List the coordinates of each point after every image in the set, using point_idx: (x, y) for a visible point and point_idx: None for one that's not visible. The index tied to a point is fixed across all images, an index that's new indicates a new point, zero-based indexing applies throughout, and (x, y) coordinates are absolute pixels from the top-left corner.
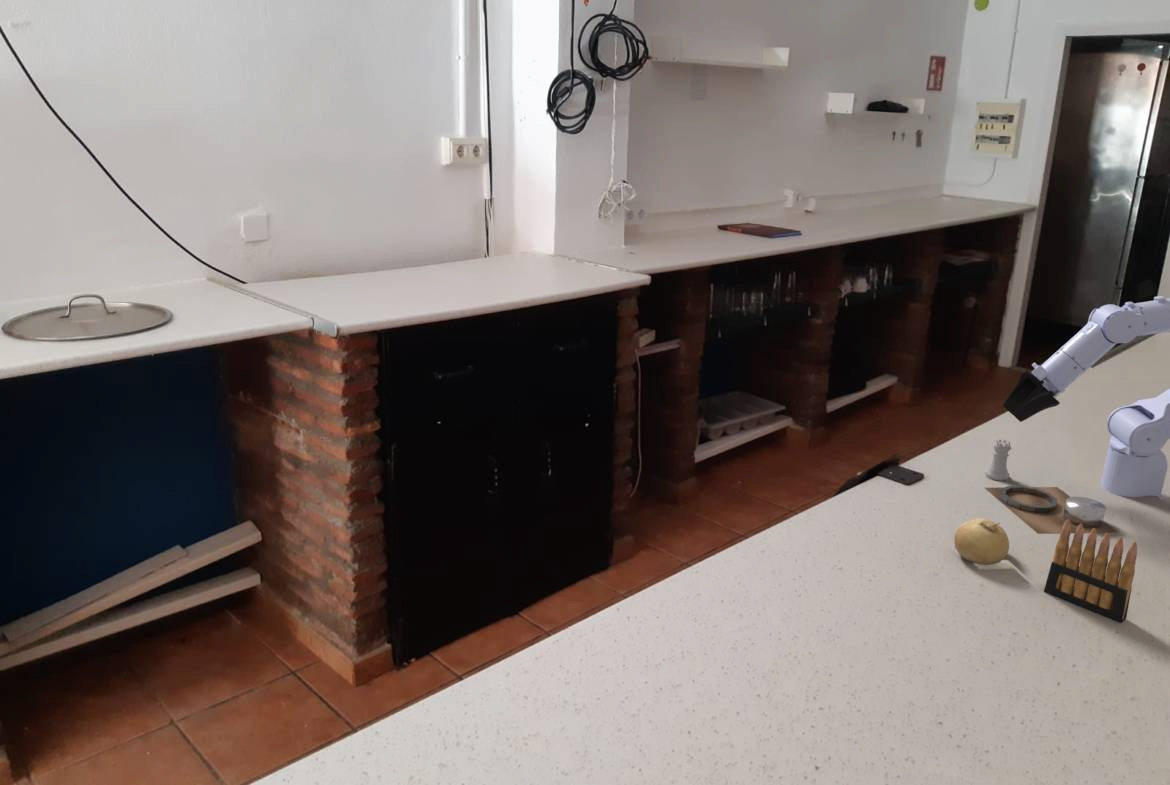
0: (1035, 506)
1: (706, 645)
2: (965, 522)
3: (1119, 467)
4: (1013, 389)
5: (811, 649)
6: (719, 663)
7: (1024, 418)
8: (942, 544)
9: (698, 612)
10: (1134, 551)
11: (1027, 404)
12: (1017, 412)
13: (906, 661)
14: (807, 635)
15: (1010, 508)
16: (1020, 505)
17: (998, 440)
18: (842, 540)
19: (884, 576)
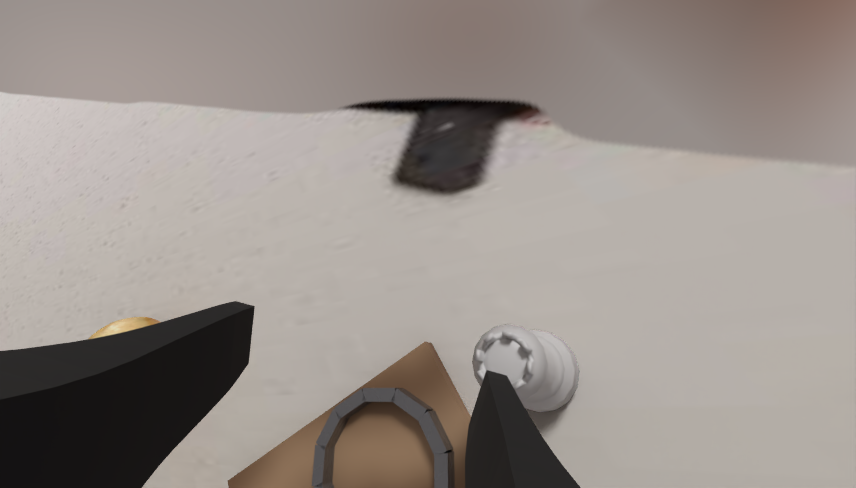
0: (317, 485)
1: (30, 171)
2: (115, 326)
3: None
4: (123, 332)
5: (21, 240)
6: (15, 190)
7: (467, 453)
8: (189, 303)
9: (61, 142)
10: None
11: (490, 475)
12: (481, 403)
13: (3, 319)
14: (35, 229)
15: (324, 417)
16: (318, 442)
17: (523, 340)
18: (177, 179)
19: (112, 255)
